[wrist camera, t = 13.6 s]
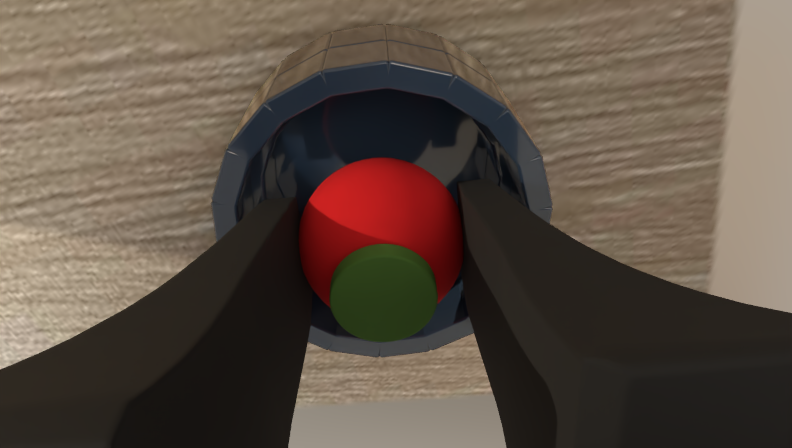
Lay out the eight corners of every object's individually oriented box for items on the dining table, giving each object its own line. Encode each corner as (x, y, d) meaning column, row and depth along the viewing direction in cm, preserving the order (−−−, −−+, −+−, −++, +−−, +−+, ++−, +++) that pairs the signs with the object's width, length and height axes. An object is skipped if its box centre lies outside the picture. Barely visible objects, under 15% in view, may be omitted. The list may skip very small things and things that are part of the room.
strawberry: (452, 124, 12) (478, 207, 9) (457, 256, 14) (481, 364, 11) (294, 140, 12) (268, 227, 9) (318, 269, 14) (303, 381, 11)
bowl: (533, 23, 13) (581, 65, 10) (496, 271, 17) (524, 358, 14) (232, 13, 13) (189, 55, 10) (257, 268, 16) (231, 357, 13)
